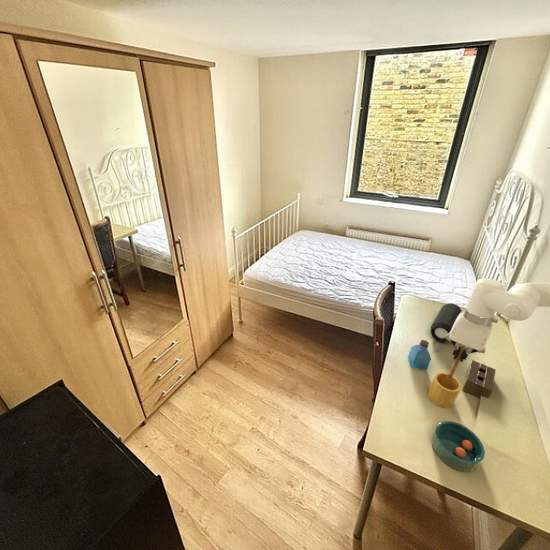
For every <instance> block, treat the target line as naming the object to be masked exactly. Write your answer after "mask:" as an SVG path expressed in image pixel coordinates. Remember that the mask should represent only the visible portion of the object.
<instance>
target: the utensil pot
mask: <svg viewBox="0 0 550 550" xmlns="http://www.w3.org/2000/svg"><path fill="white" fill-rule="evenodd" d="M448 374H449V372H448V373H447V372H443V371H442V372H441V371H440V372H437V373H435V374H434V377H433V378H432V381H431V384H430V387H429V389H428V391H427V397H428V398H429V400H430V402H432V403H433V404H434V405H436V406H438V407H440V408H443V409H450V408H452V407H453V406H454V404H455V402H456V400H457V398H458V396H459V394H460V392H461V390H462V388H463V386H462V383H461V382H460V380H459V379H458V378H457V377H456V376H454V375H453V377H452V379H451V380H448V379H447V376H448Z"/></svg>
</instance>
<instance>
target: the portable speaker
mask: <svg viewBox="0 0 550 550" xmlns="http://www.w3.org/2000/svg"><path fill="white" fill-rule="evenodd" d="M461 312H463V310H462V308H461V307H460V305H458V304H457V303H453V302H449V303H446V304H443V305H442V306H441V308H440V309H439V311H438V313H437V315H436V316H435V318H434V321H433V322H432V324H431V326H430V330H429V331H430V334H431V337H432V338H433V339H434V340H435V341H437V342H440V343H446V342H448V341H449V340H447V339H446V338H445V337H446V335H447V334H448V333H449V332H450V331H451V329H452V327H453V325H454V323H455V321H456V319H457V317H458V316H459V314H460V313H461ZM449 342H450V341H449Z"/></svg>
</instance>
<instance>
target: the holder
mask: <svg viewBox="0 0 550 550" xmlns="http://www.w3.org/2000/svg"><path fill="white" fill-rule="evenodd" d="M496 371H497V370H496V368H493V367H490V366H488V365H486V364H483V363H480V362H479V361H476V360H474V359H472V360H471V362H470V364H469V366H468V368H467V370H466V375H465V377H464V380H463V381H464V382H463V386H462V388H461V390H462V391H463V392H465V393H466V394H469V395H471V396H473V397H475V398H477V399H480V400H481V399H482V397H483V398H486V399H489V398H490V396H491V395H492V392H493V389H494V384H495V377H496Z"/></svg>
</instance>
